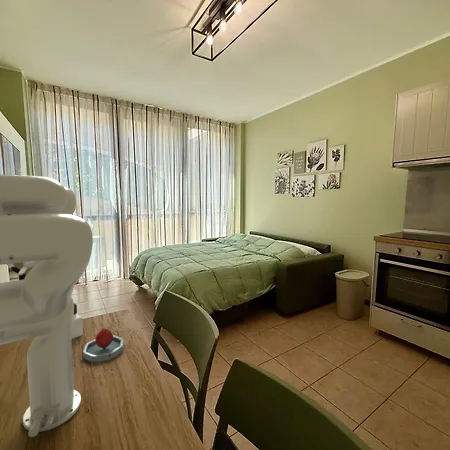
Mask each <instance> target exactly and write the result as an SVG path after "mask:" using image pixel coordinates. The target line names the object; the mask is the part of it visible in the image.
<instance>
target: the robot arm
mask: <svg viewBox="0 0 450 450" xmlns="http://www.w3.org/2000/svg"><path fill="white" fill-rule="evenodd" d="M76 207H77V197H76V195H75V192H74V191H73V190H72V189H71V188H68V187H65V186H64V185H63V184H62V183H60V182H59V181H57V179H56V180H55V179H53V178H51V177H47V176H39V175H22V174H21V175H20V174H19V175H18V174H4V173H3V174H1V173H0V265H1V266H2V265H6V266H8V268H9V269H10V270H11V271H12V272H13V273H16V274H18V279H17V280H14V281H12V280H11V281H6V282H5V281H4V282H0V346H1V345H6V344H11V343H14V342H19V341H21V340H22V341H23V340H26V339H30V338H34V337H35V338H34V339H33V341H32V342H31V344H30V345H29V348H28V350H27V353H26V366H27V367H26V368H27V384H28V394H29V396H28V397H29V399H28V400H29V406H28V408H27V409H26V410H25V412H24V414H23V416H22V425H23V428H24V429H26V431H28V433H27V434H28V435H27V436H28V437H30V438H34V437H36V436H37V435H38V434H39V432H46V431H50V430H52V429H55V428H57V427H59V426H61V425H62V424H65V422H67V421H69V420H70V419H71V418H72V417H73V416H75V414H76V413H77V412H78V410H79V408H80V407H81V402H82V398H81V397H82V396H81V394H80V392H78V391H77V390H75V389H74V388H75V387H74V367H73V366H74V364H73V346H72V345H73V343H72V340H73V339H72V322H73V314H74V302H75V301H74V299H73V298H72V295H73V291H74V287H75V285H76V284H77V283H78V282H79V280H80V279H81V277H82V276H83V275H84V273H85V272H86V269H87V268H88V265H89V263H90V261H91V256H92V250H93V243H94V240H93V238H94V236H93V230H92V227H91V225H90V223H88V221H86V220H85V219H84V218H82V217H80V216H77V215H74V213H75V211H76V209H77V208H76ZM15 264H20V267H19V268H18V267H17V266H15ZM29 268H31V269H30V270H29V271H28V272H27V274H26V273H25V272H26V271H27V270H28V269H29Z"/></svg>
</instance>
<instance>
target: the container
mask: <svg viewBox="0 0 450 450" xmlns="http://www.w3.org/2000/svg"><path fill="white" fill-rule="evenodd" d="M83 326H84V325H83V317H82V316H81V315H79V314H78V305H77V304H76V303H74V314H73V322H72V340H74V339H76V338H78V337H79V338H80V336H83V334H84V330H83V329H84V328H83Z"/></svg>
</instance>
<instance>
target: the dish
mask: <svg viewBox="0 0 450 450" xmlns="http://www.w3.org/2000/svg"><path fill="white" fill-rule="evenodd" d="M124 345H125V344H124V338H123V337H120V336H117V335H113V340H112V342H111V344H110V345H109V346H108V347H107V348H105V349H103V348H101V347H98V346H97V345H96V342H95V339H93V340H90V341H89V342H87V343H86V344H85V345H84V349H83V350H82V355H83V358H84V360H85V361H87V362H90V363H102V362H107V361H109V360H112V359H114V358H117V357H118V356H119V355H120V354H121V353H122V352H123V350H124V347H125V346H124Z"/></svg>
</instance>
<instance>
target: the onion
mask: <svg viewBox="0 0 450 450" xmlns="http://www.w3.org/2000/svg"><path fill="white" fill-rule="evenodd" d="M113 336H114V335H113V333H112V331H111V330H109V329H108V328H106V327H102V328H101V330H100V331H98V332H97V334H96V335H95V342H96V345H97V346H98V347H101V348H103V349H105V348H107V347H108V346H109V345H110V344H111V342H112V340H113Z"/></svg>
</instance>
